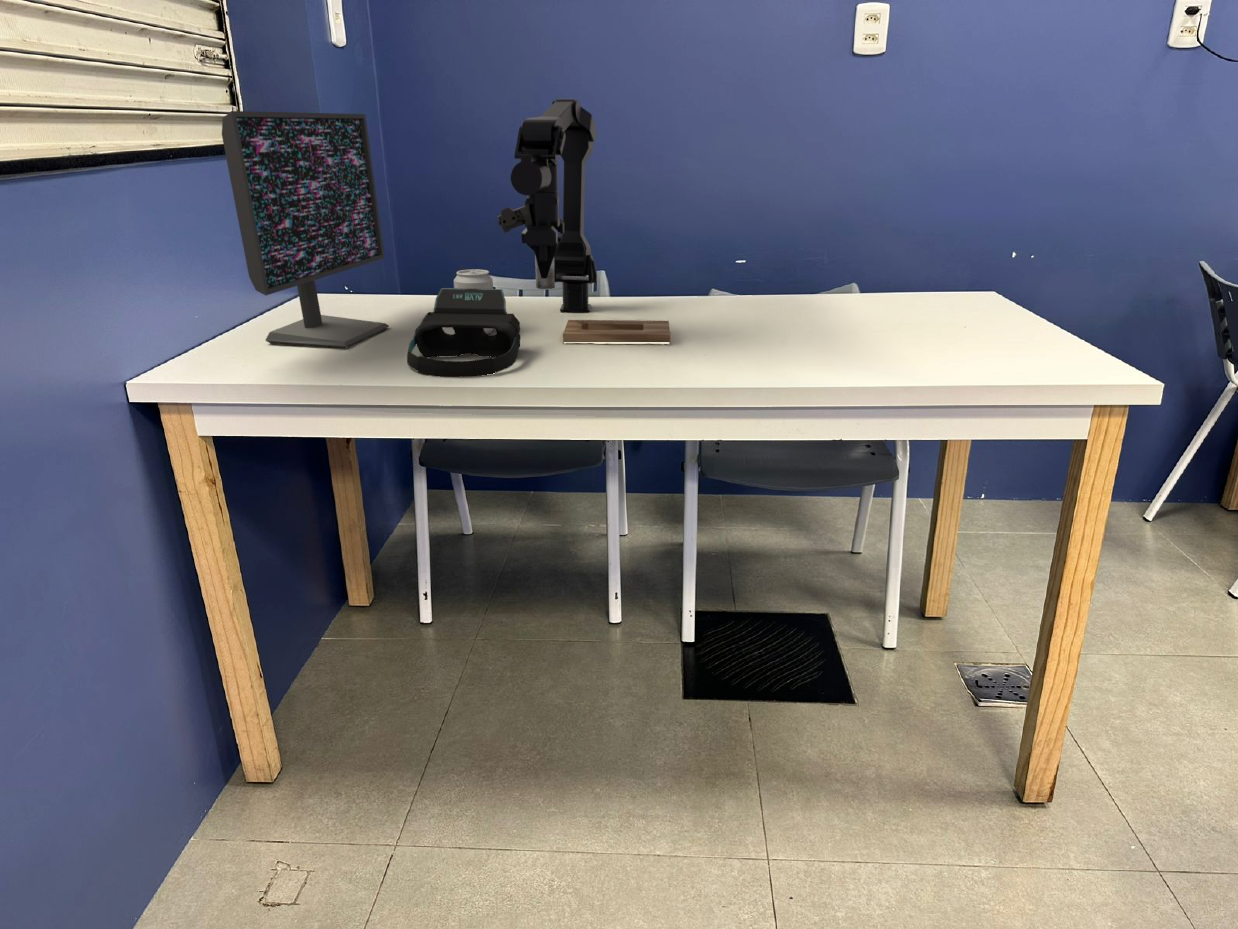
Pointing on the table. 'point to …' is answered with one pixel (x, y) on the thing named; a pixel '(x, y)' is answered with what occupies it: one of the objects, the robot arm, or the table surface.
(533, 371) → the table surface
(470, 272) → the can
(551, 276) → the peg
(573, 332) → the keyhole board
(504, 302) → the virtual reality headset
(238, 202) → the computer monitor
